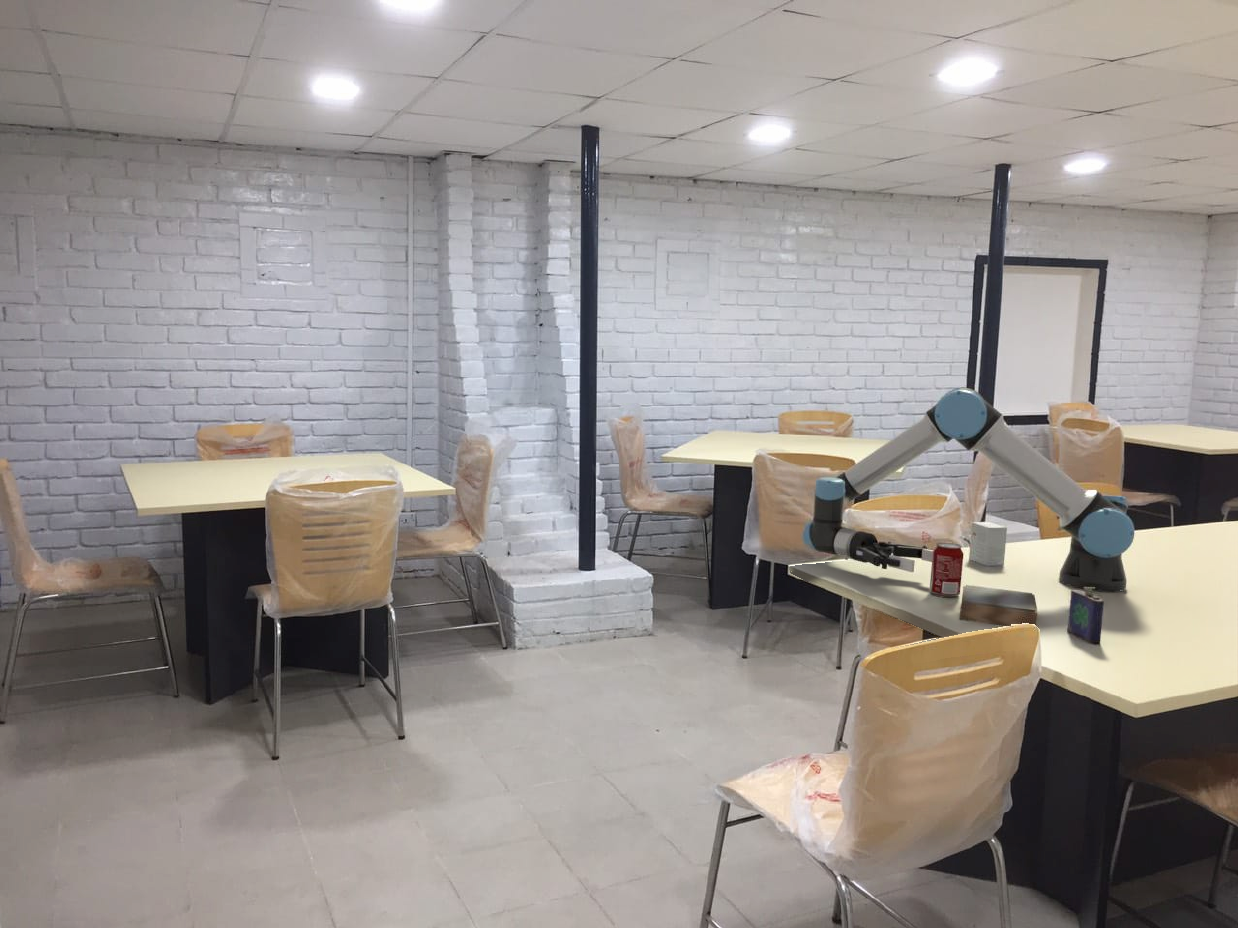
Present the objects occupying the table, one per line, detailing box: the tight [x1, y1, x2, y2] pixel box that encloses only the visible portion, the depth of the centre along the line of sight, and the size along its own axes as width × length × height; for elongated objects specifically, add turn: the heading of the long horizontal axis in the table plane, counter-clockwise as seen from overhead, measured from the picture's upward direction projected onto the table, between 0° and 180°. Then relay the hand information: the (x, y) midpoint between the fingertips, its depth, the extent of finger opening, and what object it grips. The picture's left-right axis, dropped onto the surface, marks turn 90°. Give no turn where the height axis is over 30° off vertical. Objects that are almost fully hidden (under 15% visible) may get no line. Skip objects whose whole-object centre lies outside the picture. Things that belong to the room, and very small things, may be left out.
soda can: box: [929, 541, 965, 599], centre depth 226 cm, size 7×7×12 cm
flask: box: [1066, 587, 1105, 646], centre depth 197 cm, size 9×3×11 cm, turn 8°
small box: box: [968, 521, 1008, 567], centre depth 262 cm, size 8×6×10 cm
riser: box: [959, 584, 1039, 626], centre depth 212 cm, size 15×16×4 cm
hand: (930, 562), depth 229 cm, fingers open, 13 cm apart
